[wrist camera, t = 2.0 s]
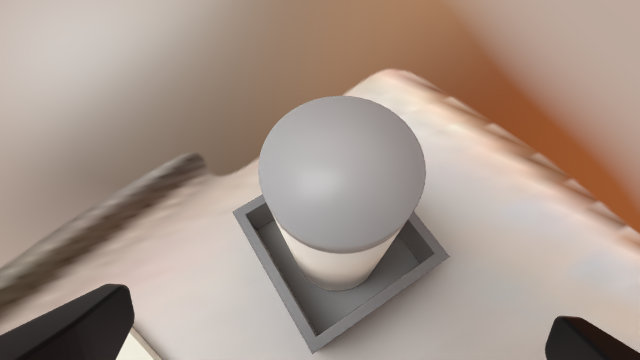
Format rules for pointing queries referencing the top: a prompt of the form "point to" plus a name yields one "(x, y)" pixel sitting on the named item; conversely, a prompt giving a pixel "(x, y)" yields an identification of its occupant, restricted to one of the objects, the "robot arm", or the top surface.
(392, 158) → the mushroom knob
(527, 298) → the top surface
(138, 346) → the cream board
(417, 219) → the collar
